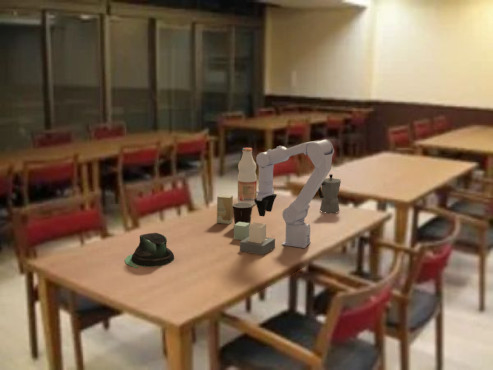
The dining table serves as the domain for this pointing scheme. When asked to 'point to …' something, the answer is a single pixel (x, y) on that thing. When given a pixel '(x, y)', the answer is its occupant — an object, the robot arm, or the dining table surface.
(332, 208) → the coffeepot
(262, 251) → the charcoal base block
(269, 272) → the dining table surface
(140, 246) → the dark fedora hat
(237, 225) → the sage green block
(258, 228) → the cream block
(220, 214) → the skincare box
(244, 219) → the coffee mug
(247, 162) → the fruit juice
